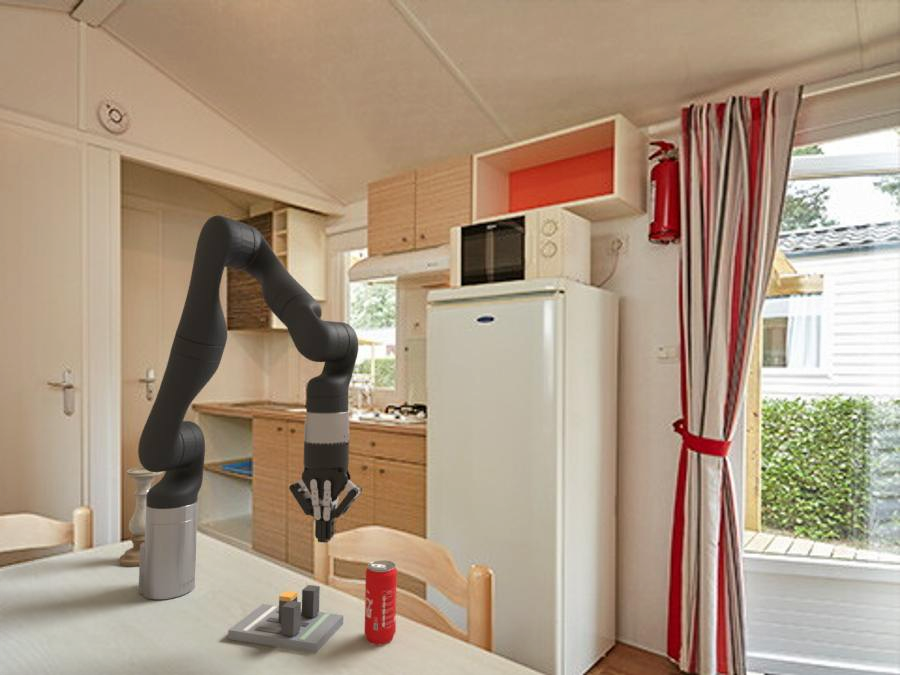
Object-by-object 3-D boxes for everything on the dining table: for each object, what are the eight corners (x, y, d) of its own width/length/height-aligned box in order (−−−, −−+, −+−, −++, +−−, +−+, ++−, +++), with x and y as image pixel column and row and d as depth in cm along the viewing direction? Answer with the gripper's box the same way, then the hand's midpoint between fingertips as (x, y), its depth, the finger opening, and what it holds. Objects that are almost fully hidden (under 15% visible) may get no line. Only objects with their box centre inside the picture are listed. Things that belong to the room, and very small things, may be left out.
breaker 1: (278, 622, 93) (279, 596, 93) (285, 617, 95) (286, 590, 95) (290, 624, 93) (290, 597, 93) (296, 618, 95) (297, 592, 95)
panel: (228, 639, 91) (228, 629, 91) (262, 612, 101) (262, 603, 101) (316, 653, 87) (316, 642, 87) (343, 623, 97) (343, 614, 97)
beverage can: (390, 647, 89) (391, 572, 90) (359, 644, 90) (361, 569, 91) (399, 632, 94) (400, 561, 95) (370, 628, 95) (372, 558, 96)
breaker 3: (301, 616, 96) (302, 589, 96) (307, 610, 98) (308, 584, 98) (313, 617, 95) (313, 591, 95) (319, 612, 97) (319, 586, 98)
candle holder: (171, 555, 128) (174, 467, 129) (140, 569, 120) (143, 475, 121) (142, 550, 131) (145, 465, 132) (109, 563, 123) (112, 472, 123)
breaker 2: (281, 634, 89) (281, 606, 90) (288, 628, 91) (288, 600, 92) (293, 636, 89) (294, 608, 89) (300, 629, 91) (300, 602, 91)
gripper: (280, 439, 92) (277, 544, 91) (353, 443, 88) (351, 552, 88) (302, 433, 99) (300, 531, 98) (371, 436, 96) (369, 537, 95)
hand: (324, 540), depth 93 cm, fingers closed
